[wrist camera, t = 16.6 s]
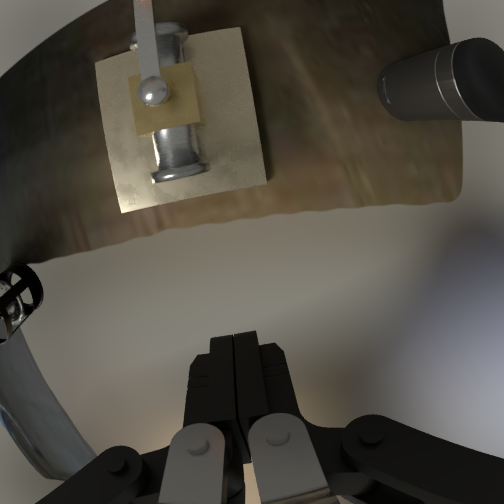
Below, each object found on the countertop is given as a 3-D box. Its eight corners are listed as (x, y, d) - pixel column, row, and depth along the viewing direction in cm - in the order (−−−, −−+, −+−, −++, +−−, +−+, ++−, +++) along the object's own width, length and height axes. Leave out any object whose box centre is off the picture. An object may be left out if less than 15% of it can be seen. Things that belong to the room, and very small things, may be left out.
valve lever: (171, 103, 26) (147, 86, 17) (143, 109, 25) (108, 97, 17) (156, -32, 20) (135, -77, 11) (130, -25, 20) (103, -67, 11)
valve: (239, 30, 33) (244, -6, 22) (265, 182, 41) (279, 197, 30) (99, 65, 33) (61, 45, 22) (125, 210, 40) (93, 234, 30)
